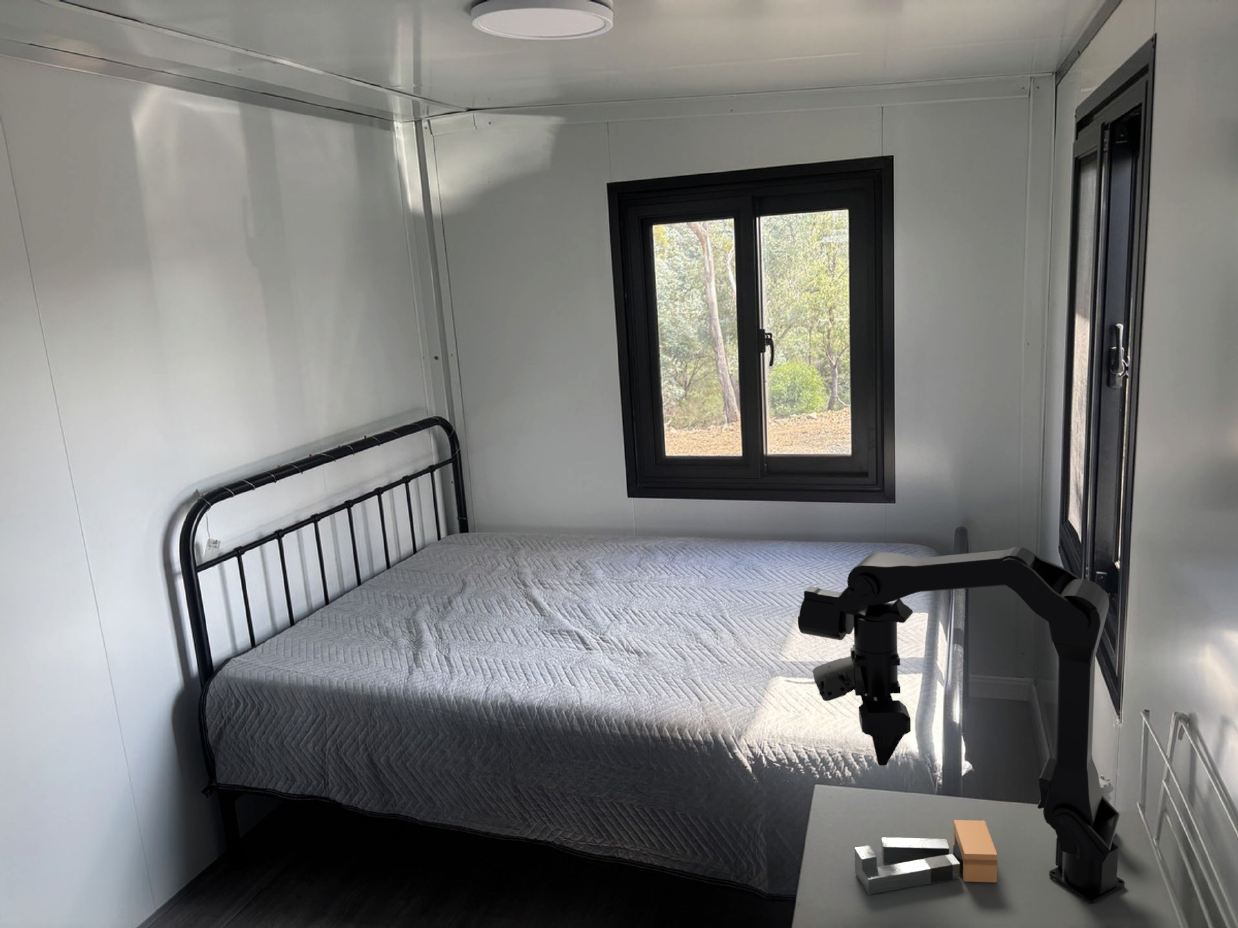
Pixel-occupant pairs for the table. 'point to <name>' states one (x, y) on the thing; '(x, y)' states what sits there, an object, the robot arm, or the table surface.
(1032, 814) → the table surface
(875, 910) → the table surface
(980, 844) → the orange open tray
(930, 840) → the tongs fixed
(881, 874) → the arm
